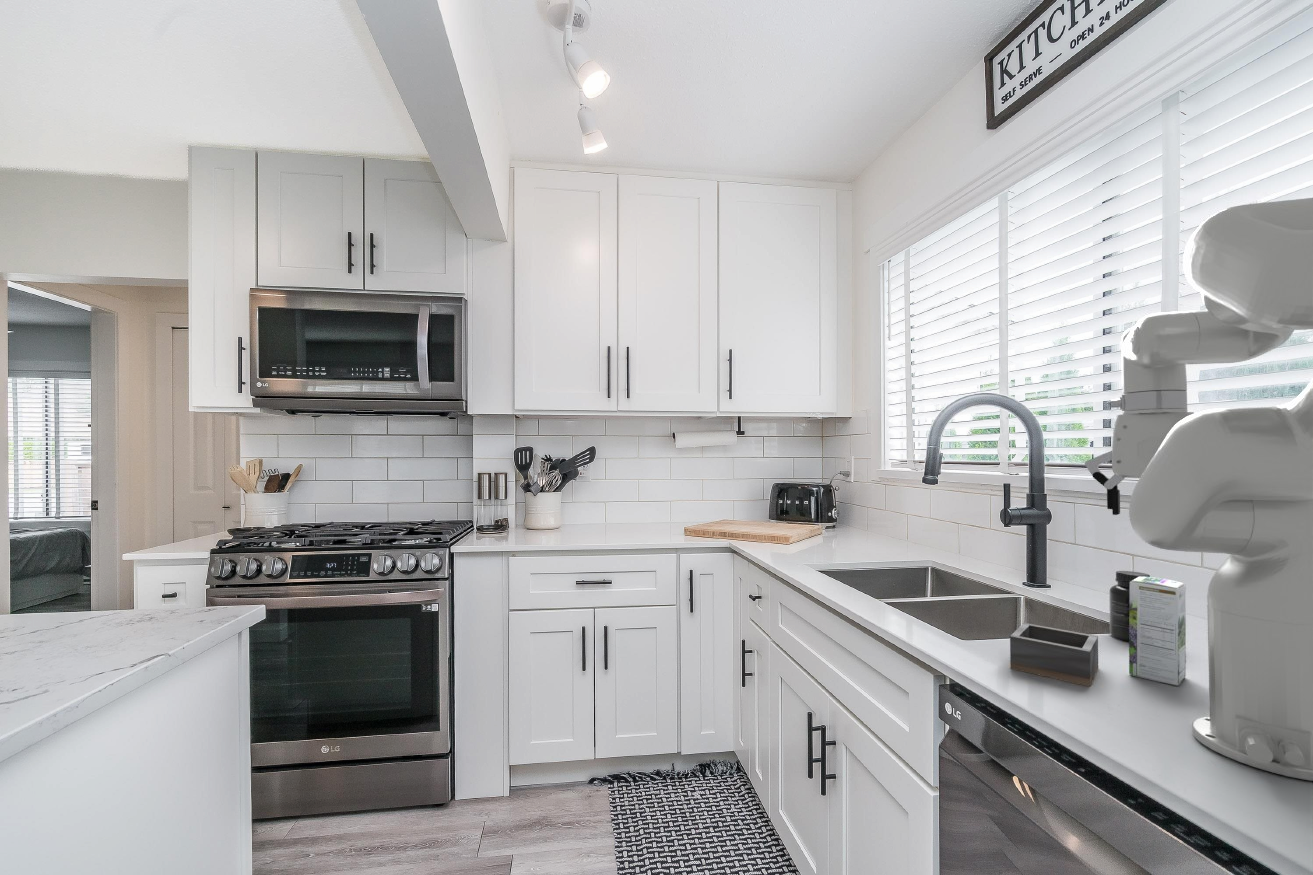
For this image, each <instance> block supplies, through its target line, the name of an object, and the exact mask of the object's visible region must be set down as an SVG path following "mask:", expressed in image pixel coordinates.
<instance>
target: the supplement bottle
mask: <svg viewBox="0 0 1313 875" xmlns="http://www.w3.org/2000/svg"><path fill="white" fill-rule="evenodd" d="M1138 577H1151V575H1150V574H1148V573H1145V572H1139V571H1131V570H1117V571H1115V582H1116V583H1117V584H1113V585H1112V586H1111V587H1110V588H1109V593H1108V594H1109V633H1110V635H1111V636H1112V637H1113V636H1114V638H1115V639H1118V640H1120V641H1125V642H1129V606H1130V581H1132V580H1134V579H1136V578H1138Z"/></svg>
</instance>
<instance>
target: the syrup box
mask: <svg viewBox="0 0 1313 875" xmlns="http://www.w3.org/2000/svg"><path fill="white" fill-rule="evenodd" d="M1186 585H1187V584H1186V583H1184V582H1181V581H1177V580H1172V579H1167V578H1162V577H1161V578H1160V577H1154V576H1150V577H1138V578H1136V579H1134V580H1132V581H1130V606H1129V641H1128V648H1129V649H1128V651H1129V652H1128V653H1129V655H1128V660H1129V661H1128V664H1129V665H1128V674H1129V675H1130V676H1133V677H1137V678H1141V679H1146V680H1151V681H1154V682H1159V683H1163V684H1166V685H1171V686H1180V685H1181V683H1182V682H1183V680H1184V679H1185V678H1186V676H1187V674H1186V673H1187V672H1186V670H1187V669H1186V667H1187V666H1186V663H1187V660H1186V658H1187V655H1186V654H1187V653H1186V649H1187V648H1186V641H1187V640H1186V636H1187V635H1186V634H1187V632H1186V629H1187V628H1186V627H1187V626H1186V625H1187V624H1186V623H1187V622H1186V621H1187V620H1186V618H1187V616H1186V611H1187V610H1186V608H1187V606H1186V600H1187V599H1186V588H1187V587H1186Z"/></svg>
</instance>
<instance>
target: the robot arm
mask: <svg viewBox="0 0 1313 875" xmlns="http://www.w3.org/2000/svg"><path fill="white" fill-rule="evenodd" d="M1182 259H1183V260H1182V261H1183V262H1182V263H1183V264H1182V265H1183V266H1182V267H1183V271H1184V275H1185V277H1186V279H1187V282H1188V283H1189V284H1190V285H1191V286H1192V287H1193V289H1195V290H1196V291H1197V292H1199V293H1200V294H1201V298H1202V303H1203V305H1204V306H1205V309H1200V310H1197V309H1196V310H1184V311H1169V312H1168V311H1166V312H1157V313H1151V314H1148V315H1145V316H1144V317H1142V318H1140V319H1139V320H1138V321H1137V322H1136V324H1134V326H1133V327H1130V328H1127V330H1125V331H1124V332H1123V334H1122V336H1121V340H1120V341H1121V342H1120V345H1121V346H1120V347H1121V348H1120V350H1121V388H1122V389H1121V390H1122V392H1121V393H1122V394H1121V396H1120V397H1119V398H1116V399H1111V400H1110V408H1111V409H1117V410H1118V409H1119V410H1121V411H1122V414H1116V416H1115V420H1114V425H1113V432H1112V434H1113V435H1112V444H1111V447H1112V448H1111V450H1109V451H1108V452H1105V453H1103V454H1100V455H1098V456H1095V457H1093V458H1090V459H1088V460H1086V461H1085V462H1084V466H1085V467H1086V468H1087V470H1088V472H1089V473H1090V475H1091V476H1092V478H1093V479H1094V480H1095V481H1097V482H1098V483H1099V484H1101V486H1103V487H1104V488H1105V489H1106V500H1107V501H1106V504H1107V506H1106V507H1107V510H1111V511H1112V516H1117V515H1120V514H1121V494H1120V493H1121V492H1120V491H1121V490H1120V489H1119V488H1118V485H1119V484H1120V483H1122V481H1124V480H1125V479H1126V478H1127V479H1128V478H1131V479H1132V478H1133V479H1138V481H1137V483H1136V485H1135V486H1134V489H1133V490H1132V493H1131V497H1130V500H1129V504H1128V506H1129V507H1128V514H1129V515H1128V518H1129V521H1130V524H1131V525H1130V526H1131V527H1132V529H1133V531H1134V533H1135V534H1136V535H1137V536H1138V537H1139V538H1140V539H1141V541H1143V542H1144V543H1146V544H1148V545H1150V546H1152V547H1155V548H1157V549H1160V550H1166V551H1175V552H1185V553H1187V552H1189V553H1203V554H1204V553H1206V554H1207V553H1209V554H1227V555H1229V556H1228V557H1227V558H1226V559H1225V561H1223V563H1222V564H1221V565H1220V566H1219V568H1218V569H1217V570H1216V571H1215V573H1213V576H1212V577H1211V579H1210V581H1209V584H1208V587H1207V597H1206V598H1207V601H1206V602H1207V604H1206V605H1207V606H1206V607H1207V608H1206V609H1207V612H1206V613H1207V645H1208V646H1207V648H1208V649H1207V650H1208V652H1207V654H1208V694H1209V696H1208V697H1209V698H1208V700H1209V702H1208V704H1209V716H1206V717H1200V718H1197V719H1194V720H1193V722H1192V724H1191V726H1192V727H1191V732H1192V735H1193V736H1194V738H1195V739H1196V740H1197V741H1198V742H1199V743H1201V744H1203V745H1204V746H1205V747H1207V748H1209V749H1211V750H1213V752H1216V753H1219V754H1220V755H1221V756H1224V757H1227V758H1229V759H1231V760H1233V761H1237V762H1239V763H1241V764H1245V765H1247V766H1250V767H1252V768H1255V769H1260V770H1262V771H1266V772H1269V773H1271V774H1272V773H1274V774H1277V775H1281V776H1284V777H1288V778H1289V777H1290V778H1294V779H1300V780H1304V781H1312V782H1313V378H1312V379H1311V380H1310V382H1309V383H1308V384H1307V386H1306V387H1305V388H1304V389H1303V390H1302V392H1300V394H1299V395H1298V396H1297V397H1295V398H1294V399H1293V400H1291V401H1290V402H1287V403H1284V404H1279V405H1275V406H1264V407H1263V406H1261V407H1232V408H1231V407H1229V408H1228V407H1225V408H1224V407H1220V408H1211V409H1206V410H1205V409H1204V410H1200V411H1197V412H1193V411H1192V412H1191V411H1188V386H1187V384H1188V383H1187V365H1203V364H1204V365H1206V364H1207V365H1208V364H1209V365H1210V364H1213V365H1214V364H1234V363H1241V362H1246V361H1249V360H1252V359H1255V358H1257V357H1260V356H1262V355H1264V354H1267V353H1269V352H1271V351H1272V350H1275V349H1276V348H1278V347H1280V346H1282V345H1283V344H1285V342H1287V341H1288V340H1289V339H1290V338H1291V336H1292V335H1293V333H1294V331H1301V330H1302V331H1306V330H1313V197H1306V198H1298V199H1297V198H1296V199H1288V200H1285V199H1284V200H1277V201H1267V202H1257V203H1247V204H1241V205H1236V206H1230V207H1227V208H1225V209H1223V210H1220V211H1218V212H1216V213H1215V214H1213V215H1211V216H1209V217H1208V218H1207V219H1206V220H1204V221H1203V222H1202V223H1201V224H1200V225H1199V226H1198V227H1197V228H1196V230H1194V232H1193V233H1192V234H1191V236H1190V238H1189V240H1188V242H1187V244H1186V246H1185V250H1184V253H1183V258H1182ZM1109 461H1111V467H1112V472H1113V475H1112V476H1111V477H1109V478H1108V477H1107V476H1106V475H1105V474H1104V473H1102V471H1101V469H1100V468H1099V467H1100V465H1103V464H1104V463H1107V462H1109Z"/></svg>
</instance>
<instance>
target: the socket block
mask: <svg viewBox="0 0 1313 875" xmlns="http://www.w3.org/2000/svg"><path fill="white" fill-rule="evenodd" d="M1009 646H1010V647H1009V648H1010V650H1009V651H1010V652H1009V653H1010V654H1009V656H1010V657H1009V658H1010V661H1009V662H1010V665H1009V666H1010V668H1009V669H1012V670H1016V671H1019V672H1024V673H1030V674H1034V675H1038V676H1043V677H1047V678H1052V679H1055V680H1059V681H1064V682H1069V683H1073V684H1076V685H1077V684H1078V685H1082V686H1086V687H1091V686H1092V684H1093V681H1094V679H1095V676H1096V675H1097V672H1098V670H1099V636H1098V635H1094V634H1090V633H1089V634H1088V633H1083V632H1077V631H1072V630H1066V629H1061V628H1055V627H1050V626H1045V625H1044V626H1043V625H1038V624H1033V623H1027V622H1023V623H1022V624H1021V625H1020V626H1019V627H1018V628H1016V630H1015V631H1014V632H1012V634H1011V635H1010V636H1009Z"/></svg>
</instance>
